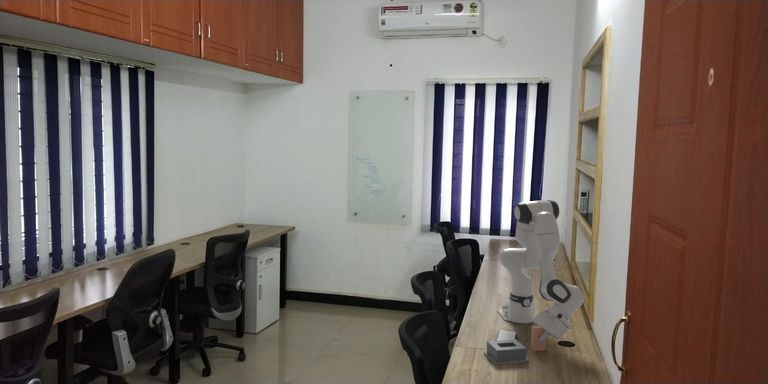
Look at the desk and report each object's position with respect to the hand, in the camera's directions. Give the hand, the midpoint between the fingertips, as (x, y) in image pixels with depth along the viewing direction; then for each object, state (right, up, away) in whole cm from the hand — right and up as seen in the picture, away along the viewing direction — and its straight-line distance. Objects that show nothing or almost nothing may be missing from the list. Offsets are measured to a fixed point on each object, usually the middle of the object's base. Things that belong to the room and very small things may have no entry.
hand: (537, 337), depth 246 cm
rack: (-17, -6, -9) cm, 20 cm away
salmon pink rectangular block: (0, -6, +1) cm, 6 cm away
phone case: (-11, -5, +14) cm, 19 cm away
